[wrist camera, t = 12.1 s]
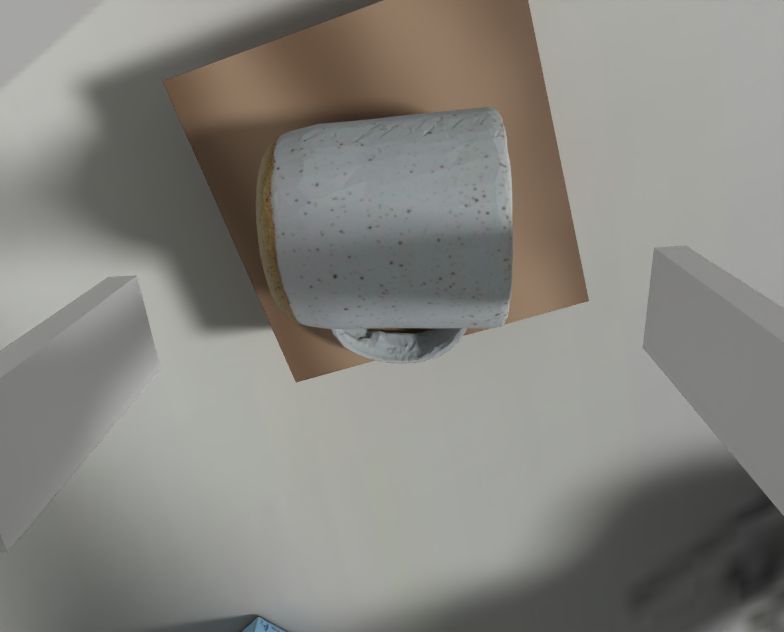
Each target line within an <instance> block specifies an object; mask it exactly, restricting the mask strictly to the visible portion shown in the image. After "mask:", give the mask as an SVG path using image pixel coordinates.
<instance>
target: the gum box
mask: <svg viewBox="0 0 784 632" xmlns="http://www.w3.org/2000/svg"><path fill="white" fill-rule="evenodd" d="M242 632H286V631H285V630H283V629H281V628H279V627H278V626H276V625H274V624H272V623H270V622H268V621H267V620H265V619H263V618H261V617H257V618H256V619H255V620H254V621H253V622H252V623H251V624H250V625H249V626H248V627H246V628H245V629H244V630H243V631H242Z"/></svg>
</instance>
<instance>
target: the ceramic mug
mask: <svg viewBox="0 0 784 632" xmlns="http://www.w3.org/2000/svg"><path fill="white" fill-rule="evenodd" d="M256 224H257V234H258V243H259V250H260V257H261V261H262V265H263V269H264V274H265V277H266V280H267V283H268V286H269V289H270V293H271V296H272V298H273V300H274V301H275V303H276V305H277V307H278V308H279V309H280V310H281V311H282V312H283V313H284V314H285V315H286V316H287V317H288V318H289V319H290V320H291V321H293V322H295V323H298V324H302V325H306V326H311V327H318V328H327V329H331V330H332V332H333V335H334V336H335V337H336V338H337V339H338V341H339V342H340V343H341V344H342V345H343V346H344V347H345V348H346V349H348V350H350V351H352V352H353V353H355V354H357V355H360V356H362V357H365V358H367V359H371V360H375V361H380V362H388V363H416V362H422V361H426V360H430V359H433V358H436V357H438V356H441V355H442V354H444V353H446V352H447V351H449V350H450V349H451V348H453V347H454V346H455V345H456V344H457V343H458V342H459V341H460V339H461V338H462V336H463V335H464V334H465V332H466V330H467V328H496V327H500V326H503V325H504V324H505V322H506V319H507V317H508V313H509V306H510V299H511V290H512V281H513V276H512V271H513V246H512V244H513V227H512V177H511V166H510V159H509V155H508V150H507V137H506V131H505V127H504V124H503V121H502V117H501V116H500V114H499V112H498V110H497V109H496V108H492V107H481V108H471V109H463V110H453V111H442V112H432V113H422V114H413V115H403V116H394V117H386V118H378V119H368V120H358V121H347V122H335V123H324V124H316V125H312V126H308V127H305V128H301V129H297V130H293V131H289V132H287V133H285V134H283V135H280V136H278V137H277V138H276V139H275V140H274V141H273V142H272V143H271V144H270V145H269V147H268V149H267V150H266V152H265V154H264V156H263V158H262V160H261V164H260V169H259V173H258V178H257V188H256ZM368 328H435V329H433V330H428V331H425V332H423V333H393V332H391V333H384V332H381V331H370V330H367V329H368Z"/></svg>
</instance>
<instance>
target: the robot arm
mask: <svg viewBox="0 0 784 632" xmlns="http://www.w3.org/2000/svg"><path fill="white" fill-rule="evenodd" d="M643 348H644V350H645V351H646V352H647V353H648V354H649V356H650V357H651V358H652V359H653V360H654V362H655V363H656V364H657V365H658V366H659V368H660V369H661V370H662V371H663V372H664V374H665V375H666V376H667V377H668V378H669V380H670V381H671V382H672V383H673V384H674V386H675V387H676V388H677V389H678V390H679V391H680V393H681V394H682V395H683V396H684V397H685V399H686V400H687V401H688V402H689V403H690V405H691V406H692V407H693V408H694V409H695V411H696V412H697V413H698V414H699V415H700V417H701V418H702V419H703V420H704V421H705V423H706V424H707V425H708V426H709V427H710V429H711V430H712V431H713V432H714V433H715V434H716V436H717V437H718V438H719V439H720V440H721V442H722V443H723V444H724V445H725V446H726V448H727V449H728V450H729V451H730V452H731V454H732V455H733V456H734V457H735V458H736V460H737V461H738V462H739V463H740V464H741V466H742V467H743V468H744V469H745V470H746V472H747V473H748V474H749V475H750V476H751V477H752V479H753V480H754V481H755V482H756V483H757V485H758V486H759V487H760V488H761V489H762V491H763V492H764V493H765V494H766V495H767V497H768V498H769V499H770V500H771V501H772V503H773V504H774V505H775V506H776V507H777V509H778V510H779V511H780V512H781V513H782V515H783V516H784V308H783V307H781V306H779V305H778V304H776V303H775V302H773V301H772V300H770V299H768V298H767V297H765V296H764V295H762V294H761V293H759V292H757V291H756V290H754V289H753V288H751V287H750V286H748V285H746V284H745V283H743V282H742V281H740V280H739V279H737V278H736V277H734V276H732V275H731V274H729V273H728V272H726V271H725V270H723V269H721V268H720V267H718V266H717V265H715V264H714V263H712V262H710V261H709V260H707V259H706V258H704V257H703V256H701V255H699V254H698V253H696V252H695V251H693V250H692V249H690V248H688V247H687V246H673V247H655V248H654V253H653V262H652V271H651V280H650V289H649V298H648V306H647V315H646V324H645V333H644V342H643ZM159 371H160V366H159V362H158V358H157V354H156V350H155V346H154V342H153V338H152V334H151V330H150V326H149V322H148V318H147V314H146V310H145V306H144V302H143V298H142V294H141V290H140V286H139V282H138V278H137V276H119V277H108V278H106V279H105V280H103V281H102V282H100V283H99V284H97V285H96V286H95V287H93V288H92V289H90V290H89V291H87V292H86V293H84V294H83V295H81V296H80V297H78V298H77V299H76V300H74V301H73V302H71V303H70V304H68V305H67V306H65V307H64V308H62V309H61V310H60V311H58V312H57V313H55V314H54V315H52V316H51V317H49V318H48V319H46V320H45V321H43V322H42V323H41V324H39V325H38V326H36V327H35V328H33V329H32V330H30V331H29V332H27V333H26V334H24V335H23V336H22V337H20V338H19V339H17V340H16V341H14V342H13V343H11V344H10V345H8V346H7V347H5V348H4V349H3V350H1V351H0V552H9V550H10V549H11V548H12V547H13V546H14V544H15V543H16V542H17V541H18V540H19V538H20V537H21V536H22V535H23V534H24V532H25V531H26V530H27V529H28V528H29V526H30V525H31V524H32V523H33V522H34V520H35V519H36V518H37V517H38V516H39V514H40V513H41V512H42V511H43V510H44V508H45V507H46V506H47V505H48V504H49V502H50V501H51V500H52V499H53V498H54V496H55V495H56V494H57V493H58V492H59V490H60V489H61V488H62V487H63V486H64V484H65V483H66V482H67V481H68V480H69V478H70V477H71V476H72V475H73V474H74V472H75V471H76V470H77V469H78V468H79V466H80V465H81V464H82V463H83V462H84V460H85V459H86V458H87V457H88V456H89V454H90V453H91V452H92V451H93V450H94V449H95V447H96V446H97V445H98V444H99V443H100V441H101V440H102V439H103V438H104V437H105V435H106V434H107V433H108V432H109V431H110V429H111V428H112V427H113V426H114V425H115V423H116V422H117V421H118V420H119V419H120V417H121V416H122V415H123V414H124V413H125V411H126V410H127V409H128V408H129V407H130V405H131V404H132V403H133V402H134V401H135V399H136V398H137V397H138V396H139V395H140V393H141V392H142V391H143V390H144V389H145V387H146V386H147V385H148V384H149V383H150V381H151V380H152V379H153V378H154V377H155V375H156V374H157V373H158V372H159Z"/></svg>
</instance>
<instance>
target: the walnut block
mask: <svg viewBox="0 0 784 632" xmlns="http://www.w3.org/2000/svg"><path fill="white" fill-rule="evenodd" d="M163 83H164V85H165V87H166V90H167V92H168V94H169V96H170V99H171V101H172V103H173V105H174V108H175V110H176V112H177V114H178V117H179V119H180V121H181V124H182V126H183V128H184V130H185V133H186V135H187V137H188V139H189V142H190V144H191V146H192V148H193V151H194V153H195V155H196V157H197V160H198V162H199V164H200V166H201V169H202V171H203V173H204V176H205V178H206V180H207V182H208V185H209V187H210V189H211V191H212V194H213V196H214V198H215V200H216V203H217V205H218V207H219V209H220V212H221V214H222V216H223V218H224V221H225V223H226V225H227V228H228V230H229V232H230V234H231V237H232V239H233V241H234V243H235V246H236V248H237V250H238V252H239V255H240V257H241V259H242V261H243V264H244V266H245V268H246V271H247V273H248V275H249V277H250V280H251V282H252V284H253V286H254V289H255V291H256V293H257V295H258V298H259V300H260V302H261V304H262V307H263V309H264V311H265V313H266V316H267V318H268V320H269V323H270V325H271V327H272V329H273V332H274V334H275V336H276V338H277V341H278V343H279V345H280V347H281V350H282V352H283V354H284V356H285V359H286V361H287V363H288V365H289V368H290V370H291V372H292V375H293V377H294V379H295V381H296V382H299V381H303V380H307V379H310V378H314V377H317V376H321V375H324V374H328V373H332V372H335V371H339V370H342V369H346V368H350V367H353V366H357V365H360V364H364V363H368V362H371V361H375V360H371V359H367V358H365V357H362V356H360V355H357V354H355V353H353V352H352V351H350V350H348V349H346V348H345V347H344V346H343V345H342V344H341V343H340V342H339V341H338V339H337V338H336V337H335V336H334V335H333V332H332V330H331V329H327V328H318V327H311V326H306V325H302V324H298V323H295V322H293V321H291V320H290V319H289V318H288V317H287V316H286V315H285V314H284V313H283V312H282V311H281V310H280V309H279V308H278V307H277V305H276V303H275V301H274V300H273V298H272V296H271V293H270V289H269V286H268V283H267V280H266V277H265V274H264V269H263V265H262V261H261V257H260V250H259V243H258V234H257V224H256V188H257V178H258V173H259V169H260V164H261V160H262V158H263V156H264V154H265V152H266V150H267V149H268V147H269V145H270V144H271V143H272V142H273V141H274V140H275V139H276V138H277V137H278V136H280V135H283V134H285V133H287V132H289V131H293V130H297V129H301V128H305V127H308V126H312V125H316V124H324V123H335V122H347V121H358V120H368V119H378V118H386V117H394V116H403V115H413V114H422V113H432V112H442V111H453V110H463V109H471V108H481V107H492V108H496V109H497V110H498V112H499V114H500V116H501V117H502V121H503V124H504V127H505V131H506V137H507V150H508V155H509V159H510V166H511V177H512V227H513V244H512V246H513V271H512V276H513V281H512V290H511V299H510V306H509V313H508V317H507V319H506V322H505V324H508V323H511V322H515V321H518V320H522V319H526V318H529V317H533V316H536V315H540V314H544V313H547V312H551V311H554V310H558V309H561V308H565V307H569V306H572V305H576V304H579V303H583V302H587V301H589V299H588V294H587V289H586V284H585V280H584V275H583V270H582V265H581V260H580V255H579V250H578V245H577V240H576V235H575V230H574V225H573V220H572V215H571V210H570V206H569V201H568V196H567V191H566V186H565V181H564V176H563V171H562V166H561V161H560V156H559V151H558V146H557V141H556V136H555V132H554V127H553V122H552V117H551V112H550V107H549V102H548V97H547V92H546V87H545V82H544V77H543V72H542V67H541V62H540V58H539V53H538V48H537V43H536V38H535V33H534V28H533V23H532V18H531V13H530V8H529V3H528V0H383V1H380V2H378V3H375V4H372V5H369V6H367V7H364V8H361V9H358V10H356V11H353V12H350V13H348V14H345V15H342V16H339V17H337V18H334V19H331V20H329V21H326V22H323V23H320V24H318V25H315V26H312V27H309V28H307V29H304V30H301V31H299V32H296V33H293V34H290V35H288V36H285V37H282V38H280V39H277V40H274V41H271V42H269V43H266V44H263V45H260V46H258V47H255V48H252V49H250V50H247V51H244V52H241V53H239V54H236V55H233V56H230V57H228V58H225V59H222V60H220V61H217V62H214V63H211V64H209V65H206V66H203V67H201V68H198V69H195V70H192V71H190V72H187V73H184V74H181V75H179V76H176V77H173V78H171V79H168V80H165V81H163ZM433 329H435V328H368V329H367V330H370V331H381V332H384V333H391V332H393V333H423V332H425V331H428V330H433ZM486 329H490V328H467V330H466V332H465V334H464V335H463V336H465V335H468V334H472V333H475V332H479V331H482V330H486Z"/></svg>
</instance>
